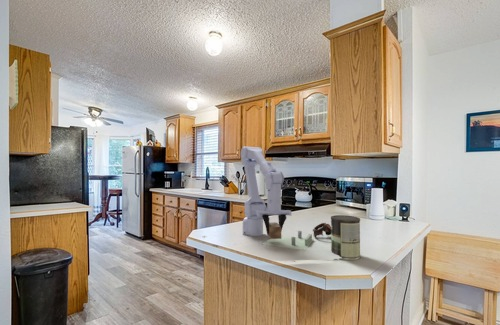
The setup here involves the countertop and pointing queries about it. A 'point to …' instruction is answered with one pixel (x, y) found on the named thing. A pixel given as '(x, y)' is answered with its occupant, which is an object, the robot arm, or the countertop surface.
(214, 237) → the countertop surface
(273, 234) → the brown block
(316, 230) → the brown clay pot
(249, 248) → the countertop surface
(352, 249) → the coffee can
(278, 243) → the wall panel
